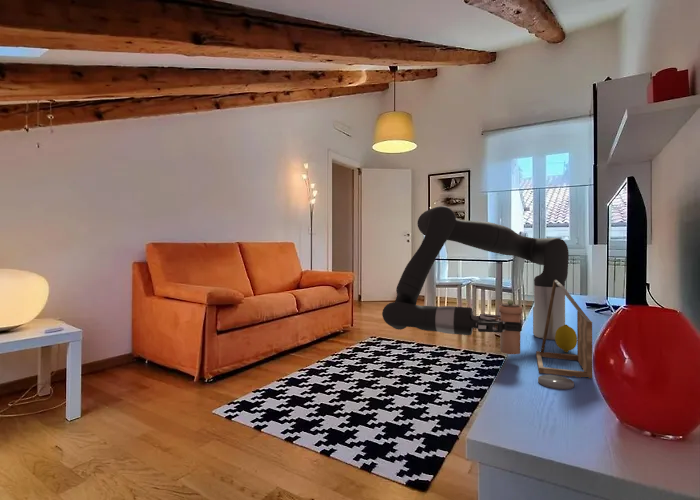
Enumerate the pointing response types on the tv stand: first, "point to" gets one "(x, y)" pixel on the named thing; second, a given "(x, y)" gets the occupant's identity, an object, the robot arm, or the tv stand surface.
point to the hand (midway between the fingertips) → (521, 325)
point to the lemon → (566, 338)
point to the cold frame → (582, 342)
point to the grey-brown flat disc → (556, 382)
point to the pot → (510, 338)
